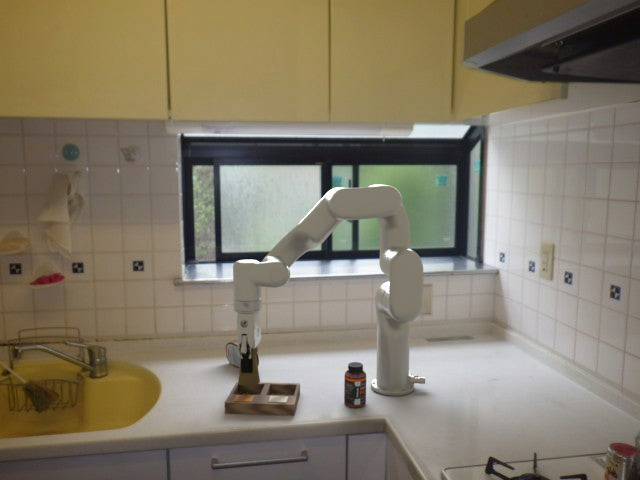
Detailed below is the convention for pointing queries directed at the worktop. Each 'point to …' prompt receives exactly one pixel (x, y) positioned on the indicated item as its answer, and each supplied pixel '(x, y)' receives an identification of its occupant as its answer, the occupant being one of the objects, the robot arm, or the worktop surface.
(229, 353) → the tin
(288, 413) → the socket block
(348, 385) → the supplement bottle
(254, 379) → the olive piece
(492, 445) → the worktop surface
